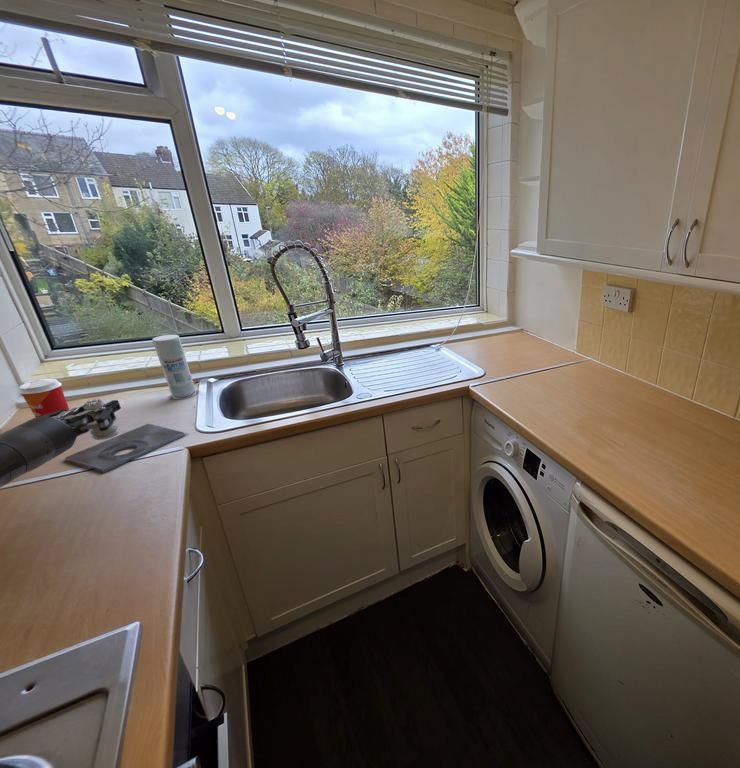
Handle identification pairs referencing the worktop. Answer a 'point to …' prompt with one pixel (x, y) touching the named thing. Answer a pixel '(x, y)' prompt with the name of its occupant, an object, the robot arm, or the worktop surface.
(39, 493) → the worktop surface
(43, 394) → the paper cup
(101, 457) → the plate
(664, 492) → the worktop surface
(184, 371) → the spray can
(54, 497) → the worktop surface
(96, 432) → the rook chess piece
